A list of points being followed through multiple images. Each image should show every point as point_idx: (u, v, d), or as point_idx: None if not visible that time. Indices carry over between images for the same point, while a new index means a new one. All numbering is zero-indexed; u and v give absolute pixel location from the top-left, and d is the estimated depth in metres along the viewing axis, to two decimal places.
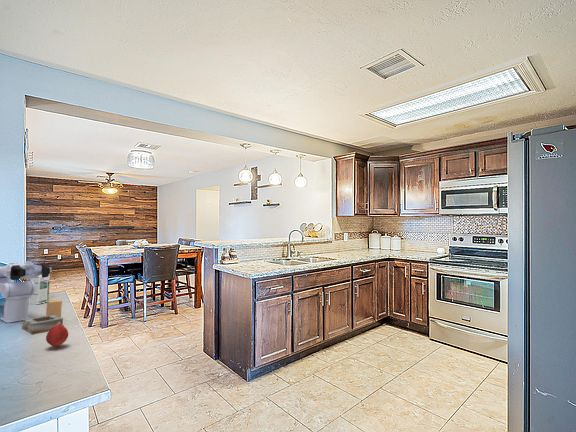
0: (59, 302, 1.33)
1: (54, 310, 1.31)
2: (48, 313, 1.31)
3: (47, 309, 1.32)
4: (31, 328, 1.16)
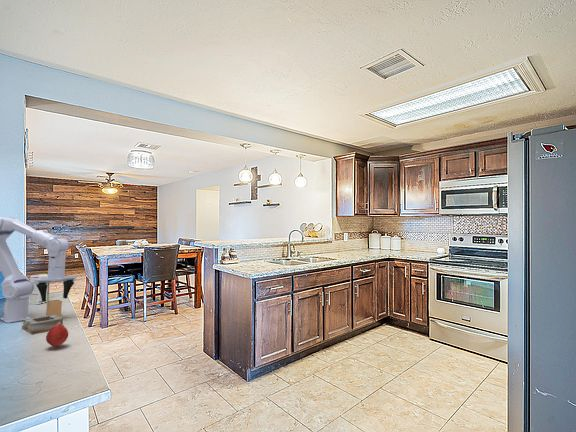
0: (59, 302, 1.33)
1: (54, 310, 1.31)
2: (48, 313, 1.31)
3: (47, 309, 1.32)
4: (31, 328, 1.16)
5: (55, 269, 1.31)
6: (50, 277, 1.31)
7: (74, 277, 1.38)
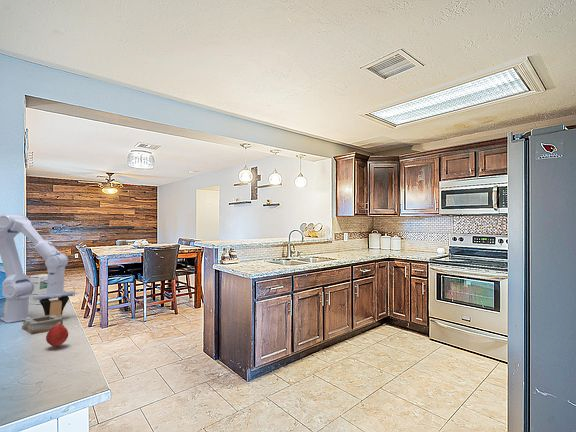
0: (59, 302, 1.33)
1: (54, 310, 1.31)
2: None
3: None
4: (31, 328, 1.16)
5: (54, 285, 1.31)
6: (49, 293, 1.30)
7: (73, 292, 1.38)
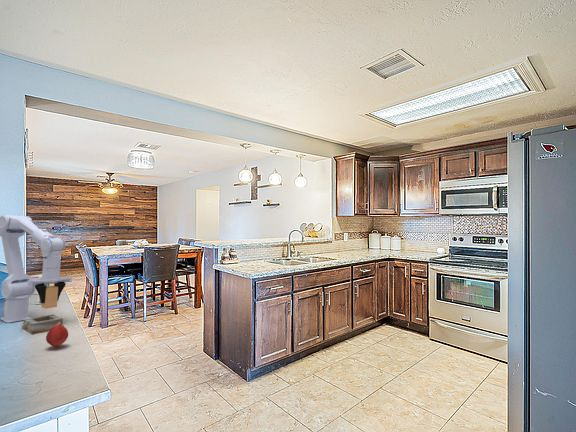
0: (55, 288, 1.27)
1: (50, 296, 1.26)
2: None
3: None
4: (31, 328, 1.16)
5: (50, 270, 1.25)
6: (44, 278, 1.24)
7: (70, 278, 1.32)
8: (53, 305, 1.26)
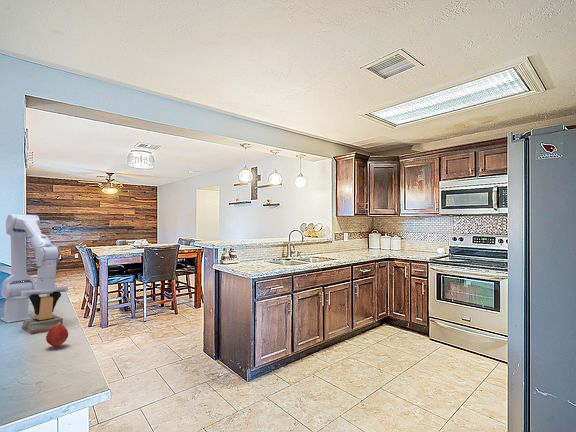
0: (50, 298, 1.22)
1: (45, 307, 1.21)
2: None
3: None
4: (31, 328, 1.16)
5: (44, 280, 1.20)
6: (39, 289, 1.20)
7: (66, 288, 1.27)
8: (48, 316, 1.21)
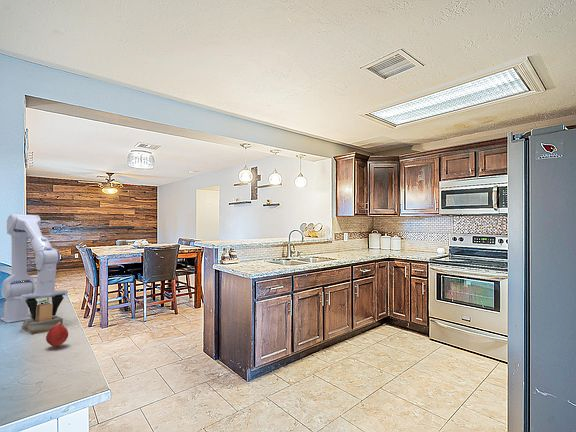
0: (50, 306, 1.22)
1: (45, 314, 1.21)
2: (37, 318, 1.20)
3: (36, 313, 1.21)
4: (31, 328, 1.16)
5: (44, 284, 1.20)
6: (39, 292, 1.20)
7: (65, 291, 1.27)
8: None
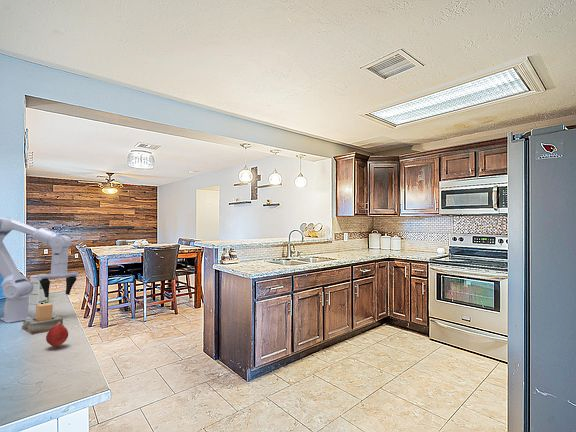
0: (50, 306, 1.22)
1: (45, 314, 1.21)
2: (37, 318, 1.20)
3: (36, 313, 1.21)
4: (31, 328, 1.16)
5: (58, 265, 1.33)
6: (53, 273, 1.32)
7: (76, 274, 1.40)
8: None
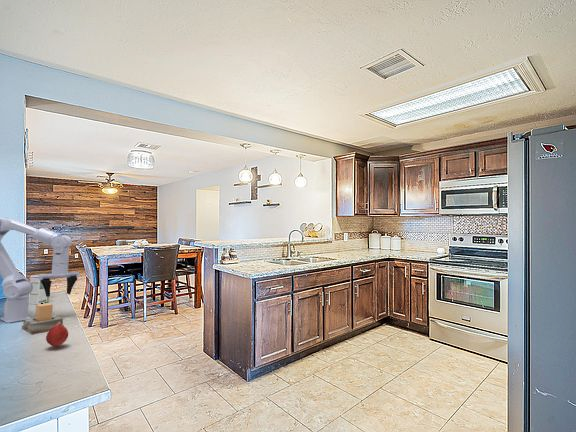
0: (50, 306, 1.22)
1: (45, 314, 1.21)
2: (37, 318, 1.20)
3: (36, 313, 1.21)
4: (31, 328, 1.16)
5: (59, 265, 1.34)
6: (54, 273, 1.33)
7: (77, 273, 1.41)
8: None
